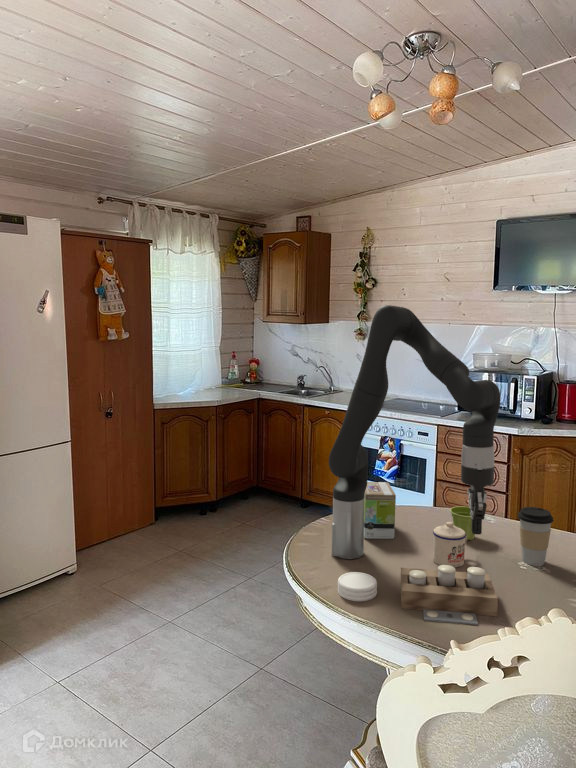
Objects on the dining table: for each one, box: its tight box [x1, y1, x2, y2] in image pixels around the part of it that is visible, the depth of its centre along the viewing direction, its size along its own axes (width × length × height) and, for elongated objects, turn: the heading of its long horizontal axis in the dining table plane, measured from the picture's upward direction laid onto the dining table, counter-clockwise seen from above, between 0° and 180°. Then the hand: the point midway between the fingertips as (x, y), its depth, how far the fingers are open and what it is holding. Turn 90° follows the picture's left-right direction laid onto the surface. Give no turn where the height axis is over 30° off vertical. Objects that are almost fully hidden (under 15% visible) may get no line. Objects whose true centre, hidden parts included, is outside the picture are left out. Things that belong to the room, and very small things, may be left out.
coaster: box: [337, 571, 378, 602], centre depth 144 cm, size 10×10×4 cm
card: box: [422, 609, 479, 626], centre depth 132 cm, size 12×4×1 cm, turn 80°
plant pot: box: [449, 505, 476, 541], centre depth 180 cm, size 9×9×9 cm
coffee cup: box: [517, 506, 554, 567], centre depth 162 cm, size 9×9×15 cm
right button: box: [467, 566, 486, 589], centre depth 139 cm, size 4×4×4 cm
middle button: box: [437, 565, 457, 587], centre depth 140 cm, size 4×4×4 cm
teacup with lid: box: [432, 521, 468, 569], centre depth 163 cm, size 12×9×12 cm
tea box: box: [364, 481, 397, 540], centre depth 186 cm, size 15×10×15 cm
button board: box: [399, 567, 499, 617], centre depth 140 cm, size 22×13×4 cm, turn 80°
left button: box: [409, 570, 426, 585], centre depth 141 cm, size 4×4×4 cm
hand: (476, 533), depth 137 cm, fingers closed
